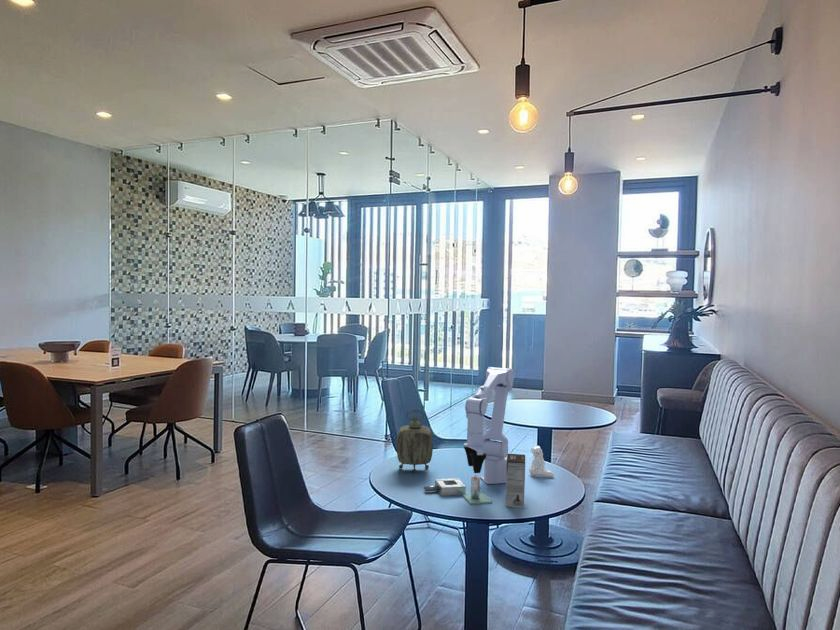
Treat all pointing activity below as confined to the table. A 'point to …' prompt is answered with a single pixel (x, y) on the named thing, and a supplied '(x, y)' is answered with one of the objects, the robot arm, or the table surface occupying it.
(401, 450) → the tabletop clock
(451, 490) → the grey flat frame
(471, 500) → the mat
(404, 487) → the table surface
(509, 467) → the coffee box
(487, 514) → the table surface
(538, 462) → the white creature statuette
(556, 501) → the table surface
